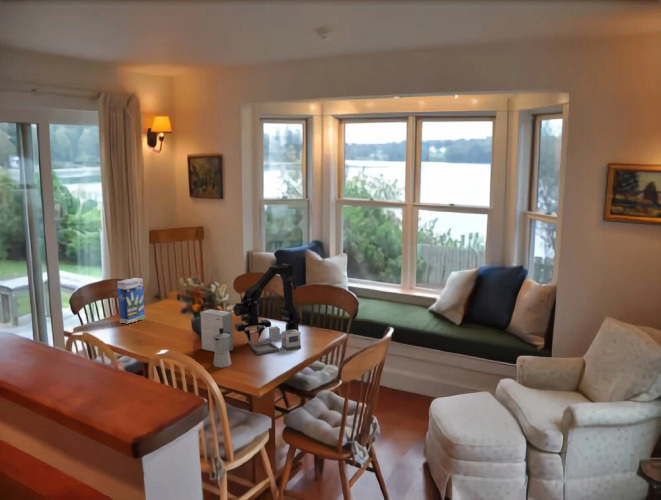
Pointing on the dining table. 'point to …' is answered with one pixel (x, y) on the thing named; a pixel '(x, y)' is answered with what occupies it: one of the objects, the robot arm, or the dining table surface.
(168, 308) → the dining table surface
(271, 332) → the grey block
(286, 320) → the robot arm
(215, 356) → the coffee maker
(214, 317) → the hard drive box
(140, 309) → the string lights box
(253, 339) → the terracotta block
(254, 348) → the charcoal tray
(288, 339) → the mounted unit
